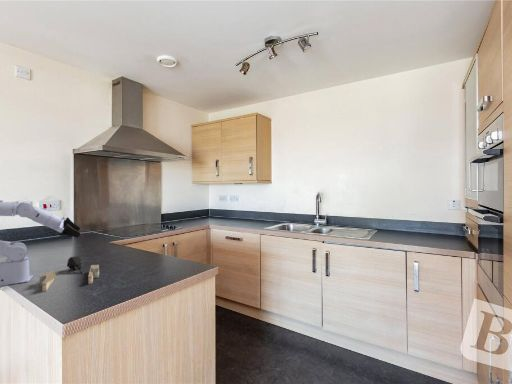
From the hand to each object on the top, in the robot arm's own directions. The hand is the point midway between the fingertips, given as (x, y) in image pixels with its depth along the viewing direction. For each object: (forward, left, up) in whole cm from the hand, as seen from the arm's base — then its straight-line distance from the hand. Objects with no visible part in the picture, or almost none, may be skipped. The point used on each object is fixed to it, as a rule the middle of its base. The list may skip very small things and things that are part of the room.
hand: (79, 232), depth 127 cm
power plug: (-1, -2, -18) cm, 18 cm away
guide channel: (-2, -16, -17) cm, 24 cm away
